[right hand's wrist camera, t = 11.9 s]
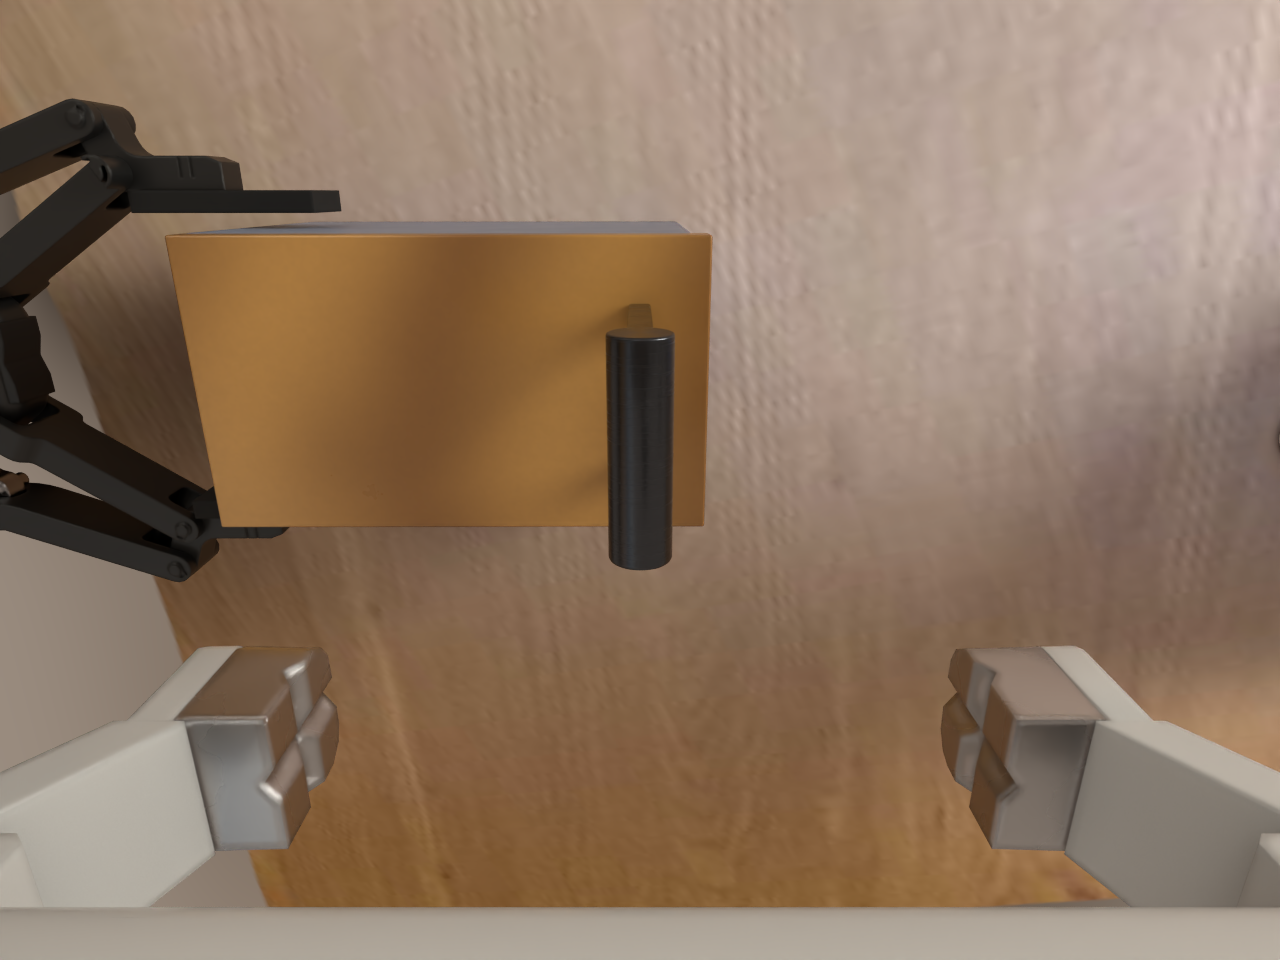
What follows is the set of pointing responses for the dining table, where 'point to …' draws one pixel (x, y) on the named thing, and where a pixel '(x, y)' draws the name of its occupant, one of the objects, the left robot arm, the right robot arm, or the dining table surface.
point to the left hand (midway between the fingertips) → (347, 359)
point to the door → (453, 379)
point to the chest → (461, 227)
